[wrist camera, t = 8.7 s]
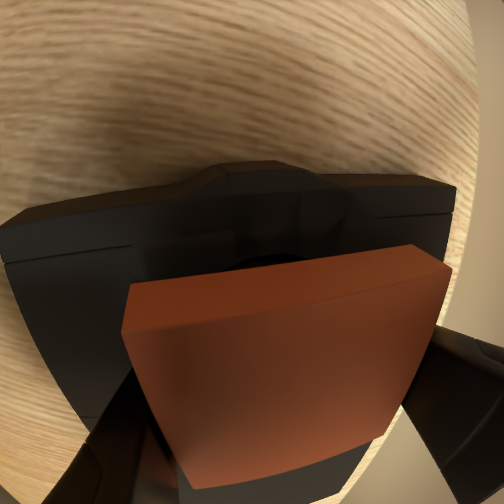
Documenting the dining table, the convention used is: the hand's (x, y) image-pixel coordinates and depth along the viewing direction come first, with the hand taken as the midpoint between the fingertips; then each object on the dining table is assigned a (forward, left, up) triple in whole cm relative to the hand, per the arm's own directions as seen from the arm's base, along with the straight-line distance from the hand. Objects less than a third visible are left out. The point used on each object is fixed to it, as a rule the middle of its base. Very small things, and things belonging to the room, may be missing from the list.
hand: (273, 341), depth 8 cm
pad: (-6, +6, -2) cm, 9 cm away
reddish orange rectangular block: (0, 0, -1) cm, 1 cm away
